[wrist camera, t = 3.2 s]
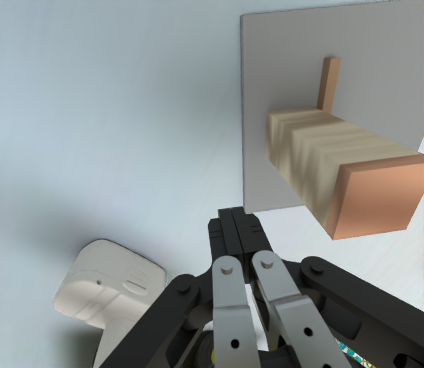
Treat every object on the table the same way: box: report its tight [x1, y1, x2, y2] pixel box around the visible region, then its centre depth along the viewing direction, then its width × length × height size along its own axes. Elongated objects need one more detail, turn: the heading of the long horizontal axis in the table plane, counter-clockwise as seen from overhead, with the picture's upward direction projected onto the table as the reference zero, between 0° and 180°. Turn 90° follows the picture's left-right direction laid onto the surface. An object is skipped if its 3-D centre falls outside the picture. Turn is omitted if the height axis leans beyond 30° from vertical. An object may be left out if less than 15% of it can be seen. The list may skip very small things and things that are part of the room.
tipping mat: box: [240, 0, 424, 213], centre depth 25 cm, size 22×22×2 cm
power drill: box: [53, 239, 165, 368], centre depth 23 cm, size 8×24×25 cm, turn 44°
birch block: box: [265, 107, 424, 240], centre depth 19 cm, size 5×5×14 cm
